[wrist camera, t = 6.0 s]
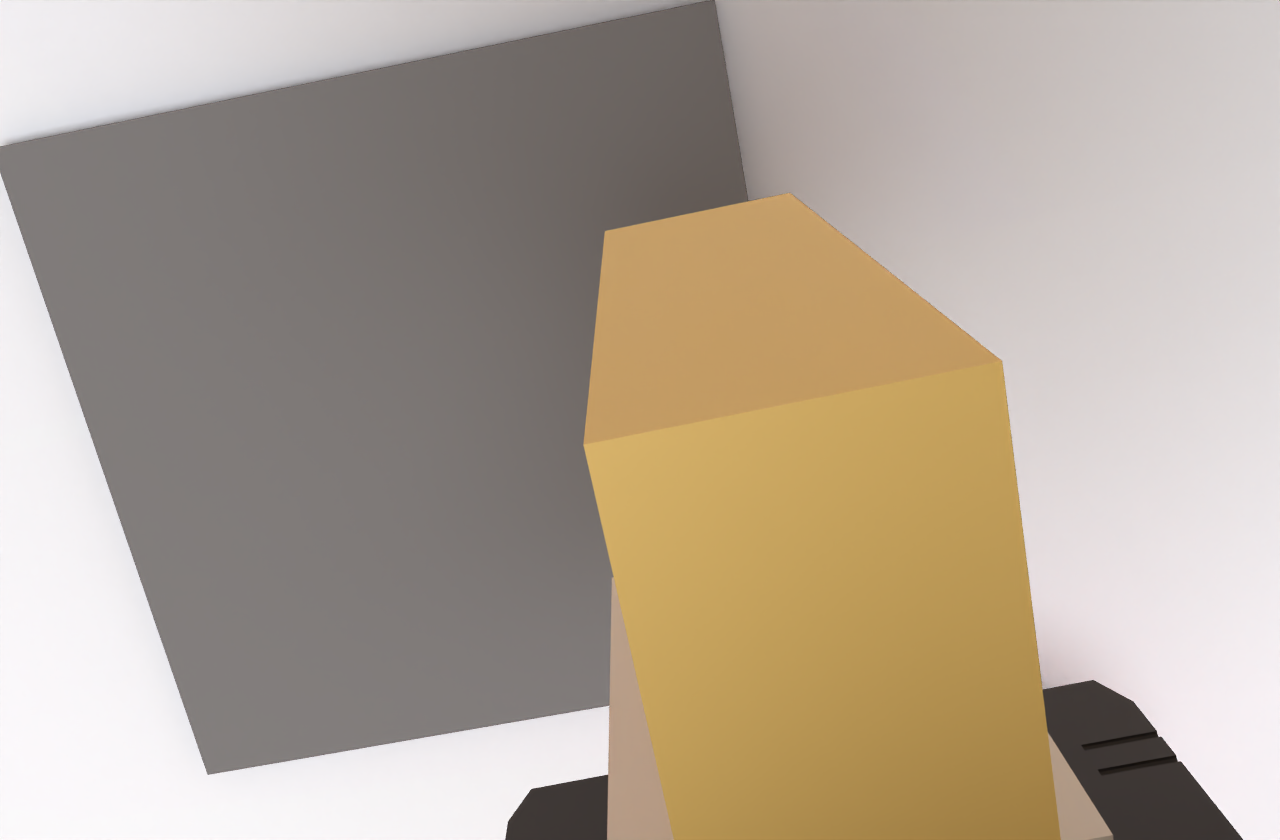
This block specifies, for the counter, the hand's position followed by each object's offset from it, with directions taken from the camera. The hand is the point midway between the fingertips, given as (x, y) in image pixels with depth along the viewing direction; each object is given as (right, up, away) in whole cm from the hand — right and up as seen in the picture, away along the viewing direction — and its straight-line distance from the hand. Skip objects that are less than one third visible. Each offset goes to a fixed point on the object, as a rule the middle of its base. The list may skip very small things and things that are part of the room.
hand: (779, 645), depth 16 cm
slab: (0, 0, +1) cm, 1 cm away
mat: (-7, +3, +15) cm, 17 cm away
